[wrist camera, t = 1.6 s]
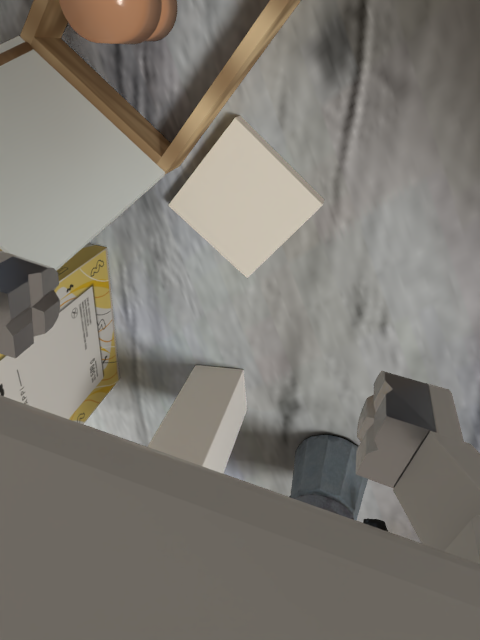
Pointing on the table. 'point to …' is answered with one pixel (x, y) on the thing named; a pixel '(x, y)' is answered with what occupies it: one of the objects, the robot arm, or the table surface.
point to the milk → (204, 418)
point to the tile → (245, 198)
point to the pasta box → (70, 345)
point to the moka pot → (330, 477)
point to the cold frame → (46, 41)
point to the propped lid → (59, 164)
